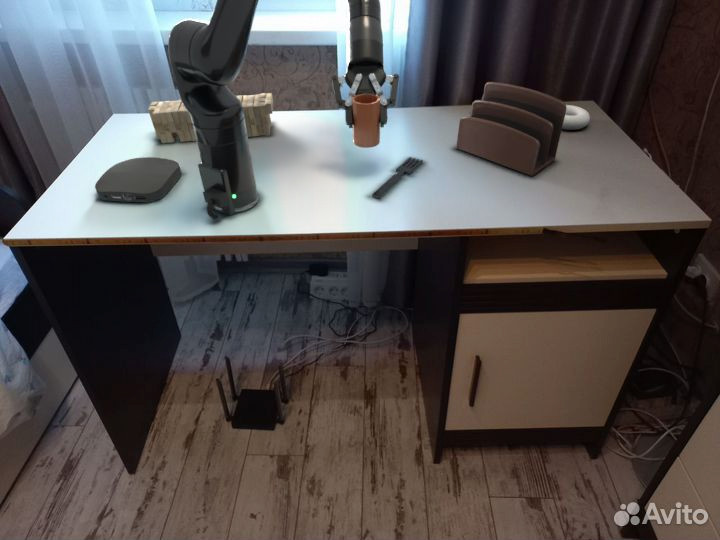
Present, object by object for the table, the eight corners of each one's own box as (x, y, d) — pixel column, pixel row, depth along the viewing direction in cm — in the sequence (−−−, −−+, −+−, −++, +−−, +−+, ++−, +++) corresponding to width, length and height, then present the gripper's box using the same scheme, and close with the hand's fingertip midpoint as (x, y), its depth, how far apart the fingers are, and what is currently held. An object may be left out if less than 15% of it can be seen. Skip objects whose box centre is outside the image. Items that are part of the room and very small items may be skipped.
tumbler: (371, 150, 103) (370, 106, 97) (348, 144, 106) (346, 101, 100) (384, 139, 107) (385, 96, 101) (362, 134, 109) (361, 91, 103)
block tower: (156, 147, 123) (276, 135, 125) (145, 114, 118) (270, 101, 119) (162, 133, 129) (276, 122, 131) (152, 101, 124) (271, 89, 125)
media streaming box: (187, 169, 112) (184, 157, 110) (159, 205, 101) (155, 192, 99) (125, 167, 114) (121, 154, 112) (91, 201, 103) (86, 188, 101)
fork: (383, 200, 101) (383, 197, 100) (368, 195, 102) (368, 193, 102) (423, 162, 112) (423, 160, 112) (409, 159, 114) (409, 156, 113)
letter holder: (479, 135, 123) (487, 76, 114) (555, 161, 112) (571, 98, 103) (455, 149, 117) (461, 88, 108) (532, 177, 106) (546, 112, 97)
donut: (596, 126, 125) (565, 112, 132) (600, 113, 123) (568, 99, 130) (567, 136, 121) (537, 121, 128) (571, 122, 119) (540, 107, 126)
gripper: (328, 37, 100) (329, 120, 98) (400, 35, 100) (403, 118, 98) (330, 57, 107) (332, 134, 106) (398, 55, 107) (400, 132, 106)
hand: (366, 126), depth 102 cm, fingers closed on tumbler, 5 cm apart
